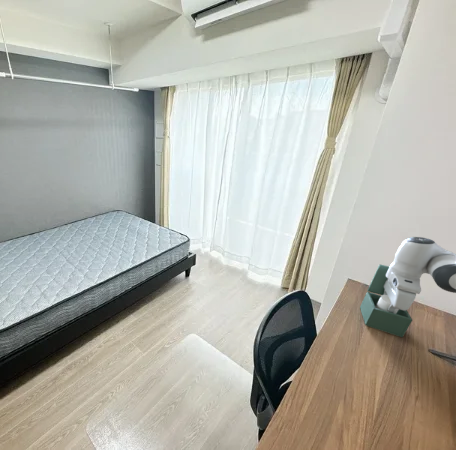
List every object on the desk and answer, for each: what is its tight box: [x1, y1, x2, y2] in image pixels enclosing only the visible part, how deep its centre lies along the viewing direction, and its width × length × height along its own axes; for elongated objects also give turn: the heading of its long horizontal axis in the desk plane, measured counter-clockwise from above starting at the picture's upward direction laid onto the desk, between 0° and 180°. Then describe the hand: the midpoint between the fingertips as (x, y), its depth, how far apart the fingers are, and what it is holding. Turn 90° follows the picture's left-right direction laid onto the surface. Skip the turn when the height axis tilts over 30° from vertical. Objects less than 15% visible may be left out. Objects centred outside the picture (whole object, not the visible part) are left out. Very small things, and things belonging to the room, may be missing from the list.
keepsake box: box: [359, 291, 413, 338], centre depth 100 cm, size 13×12×9 cm
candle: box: [375, 295, 399, 314], centre depth 98 cm, size 6×6×15 cm
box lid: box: [366, 264, 390, 296], centre depth 103 cm, size 14×12×5 cm
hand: (387, 305), depth 99 cm, fingers open, 6 cm apart
